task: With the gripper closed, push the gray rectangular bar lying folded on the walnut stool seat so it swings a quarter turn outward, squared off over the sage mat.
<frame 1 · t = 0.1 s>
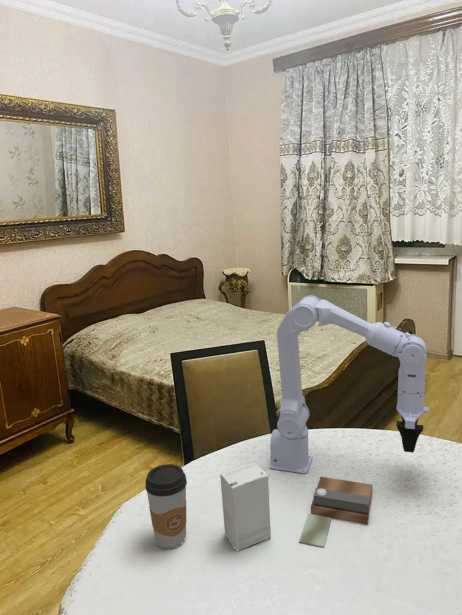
hand: (408, 443, 115), 10 cm above the table, tool pointing down, fingers open, 7 cm apart
gray rectangular bar: (341, 499, 106), point 4 cm above the table, hinge at 0.0°
skincare box: (247, 538, 101), on the table
coffee cup: (170, 539, 102), on the table
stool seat: (342, 502, 111), on the table
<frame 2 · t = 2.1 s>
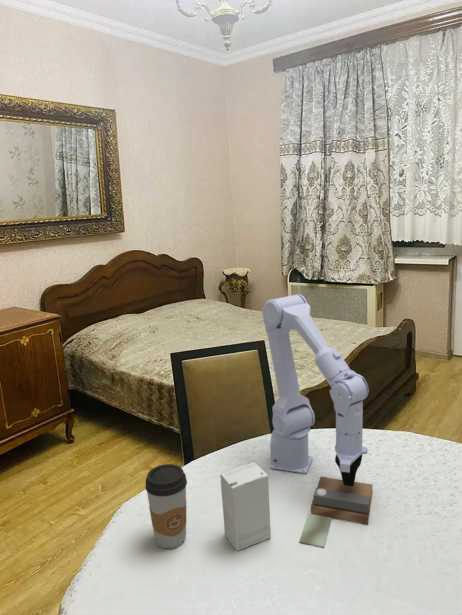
hand: (348, 484, 112), 3 cm above the table, tool pointing down, fingers closed
nothing on the table moved.
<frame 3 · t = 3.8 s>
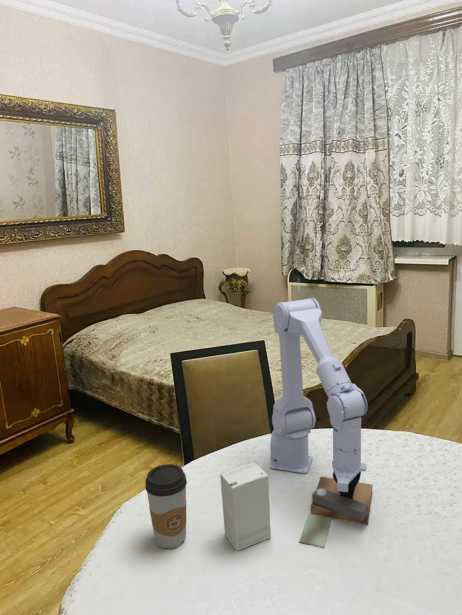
hand: (346, 501, 106), 3 cm above the table, tool pointing down, fingers closed, pressing on gray rectangular bar
gray rectangular bar: (339, 502, 105), point 4 cm above the table, hinge at 17.4°, touching gripper
everything else where it was.
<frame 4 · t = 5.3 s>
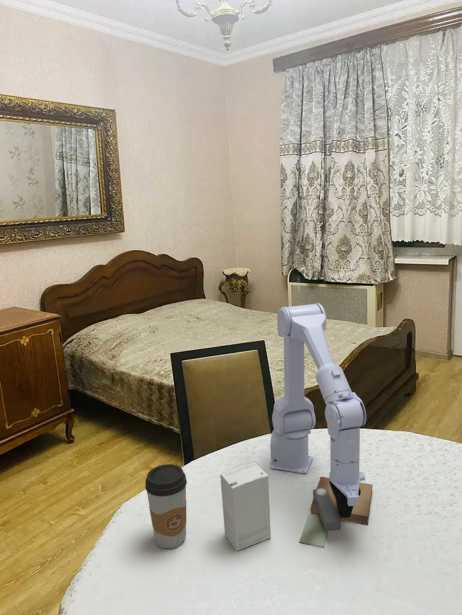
hand: (344, 515, 102), 3 cm above the table, tool pointing down, fingers closed
gray rectangular bar: (326, 508, 103), point 4 cm above the table, hinge at 66.2°
everything else where it was.
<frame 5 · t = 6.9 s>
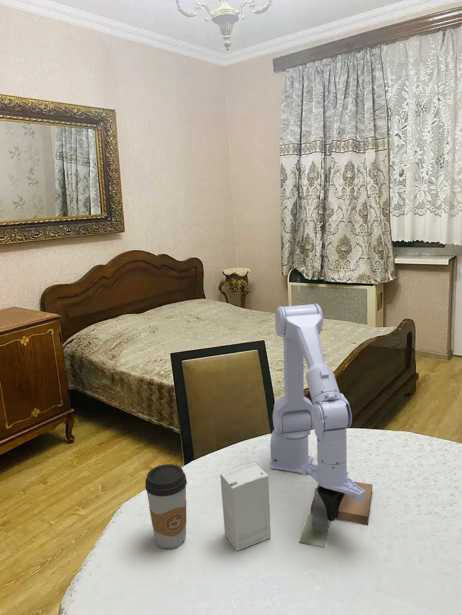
hand: (332, 518, 100), 3 cm above the table, tool pointing down, fingers closed, pressing on gray rectangular bar
gray rectangular bar: (320, 508, 103), point 4 cm above the table, hinge at 82.0°, touching gripper
everything else where it was.
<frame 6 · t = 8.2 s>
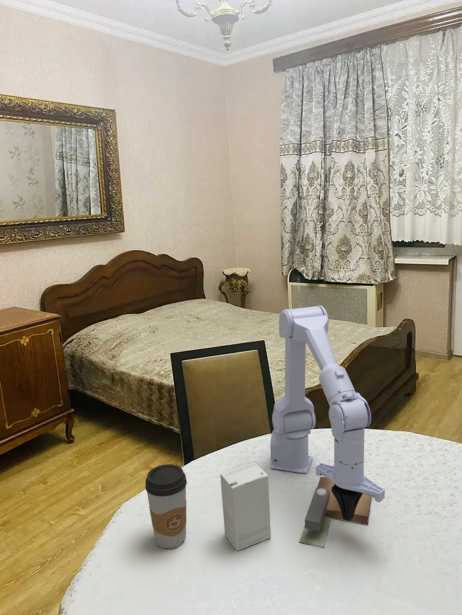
hand: (348, 517, 100), 4 cm above the table, tool pointing down, fingers closed
gray rectangular bar: (317, 507, 104), point 4 cm above the table, hinge at 90.9°
everything else where it was.
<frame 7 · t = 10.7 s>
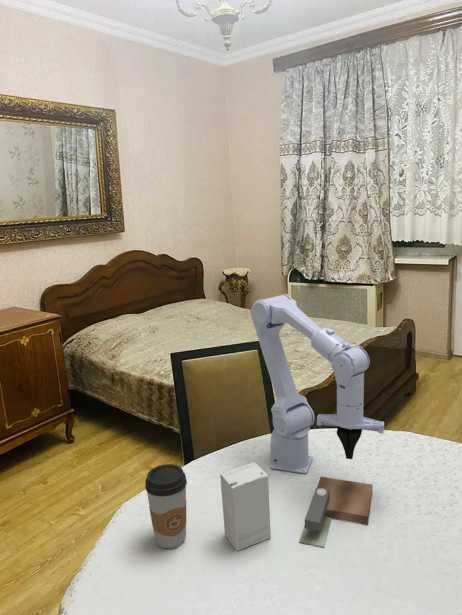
hand: (349, 456, 112), 9 cm above the table, tool pointing down, fingers closed
nothing on the table moved.
at the end: gray rectangular bar at +91° (first picture: +0°); skincare box moved 0.2 cm from its start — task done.
